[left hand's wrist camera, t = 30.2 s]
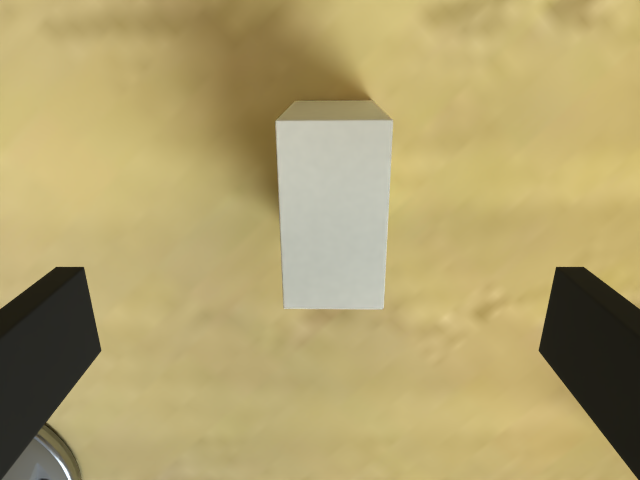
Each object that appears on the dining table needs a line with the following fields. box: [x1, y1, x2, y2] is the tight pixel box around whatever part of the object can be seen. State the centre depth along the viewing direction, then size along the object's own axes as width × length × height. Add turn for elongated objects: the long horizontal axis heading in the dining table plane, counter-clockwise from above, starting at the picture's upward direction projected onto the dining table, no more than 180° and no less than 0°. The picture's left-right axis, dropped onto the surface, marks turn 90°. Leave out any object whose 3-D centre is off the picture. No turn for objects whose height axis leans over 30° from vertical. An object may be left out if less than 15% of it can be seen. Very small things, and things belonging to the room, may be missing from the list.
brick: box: [275, 100, 393, 309], centre depth 23 cm, size 5×8×10 cm, turn 0°
